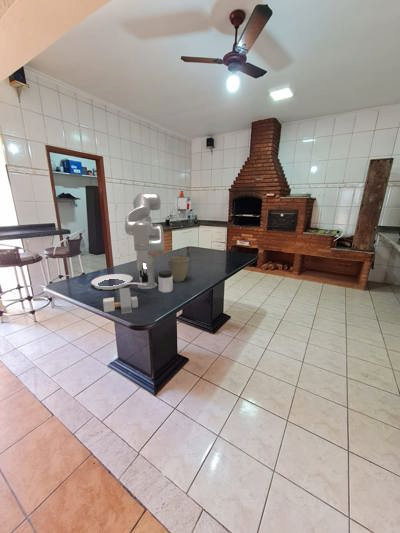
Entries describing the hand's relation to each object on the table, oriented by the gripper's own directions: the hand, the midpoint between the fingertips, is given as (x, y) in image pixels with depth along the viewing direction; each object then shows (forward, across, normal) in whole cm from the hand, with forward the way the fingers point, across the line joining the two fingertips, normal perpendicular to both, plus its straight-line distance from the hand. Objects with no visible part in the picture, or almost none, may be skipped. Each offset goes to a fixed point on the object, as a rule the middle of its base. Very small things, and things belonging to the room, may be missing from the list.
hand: (143, 279), depth 117 cm
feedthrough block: (+14, 0, -10) cm, 17 cm away
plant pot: (+14, -32, +28) cm, 45 cm away
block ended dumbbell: (+14, +1, -12) cm, 19 cm away
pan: (+15, -32, -11) cm, 37 cm away
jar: (+14, -16, +15) cm, 26 cm away
